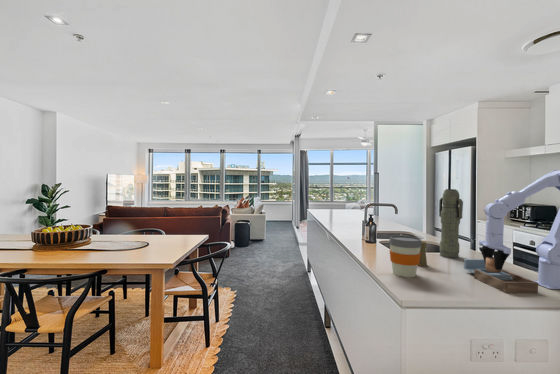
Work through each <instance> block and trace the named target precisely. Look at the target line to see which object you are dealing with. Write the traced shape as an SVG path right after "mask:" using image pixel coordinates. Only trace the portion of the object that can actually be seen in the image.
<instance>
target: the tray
mask: <svg viewBox="0 0 560 374" xmlns="http://www.w3.org/2000/svg"><path fill="white" fill-rule="evenodd" d="M485 267H486V265H485V262H484V258H481V259H479V258H476V259H475V258H472V259H471V258H468V259H467V258H464V259H463V270H466V271H468V272H470V273H472V274H474V269H477V270H479V271H481V272H484V273H486V274H488V275H491V276H493V277H495V278H498V279H500V280H513V278H511V277H510V275H509V274H507V273H504V272H502V271H501V273H493V272H489V271H486V270H485Z"/></svg>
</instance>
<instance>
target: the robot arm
mask: <svg viewBox="0 0 560 374" xmlns="http://www.w3.org/2000/svg"><path fill="white" fill-rule="evenodd" d="M546 188H555V189H558V190H559V192H560V169H554V170H552V171H550V172H549V173H545V174H544V175H542V176H541V177H539V178H538V179H537V180H535V181H533V182H531V183H530V184H529V185H526V186H525V187H524V188H522V189H521V190H519V191H515V190H513V191H508V192H506V193H505V195H504V196H502V197H500V198H499V199H498V198H496V199H494V202H491V203H487V205H486V206H485V207H484V209H483V212H484V214H485V215H486V218H485V219H486V221H485V240H479V241H478V246H479V247H478V250H479V252H480V253H481V255H482V259H484V262H485V265H486V257H494V260H495V269H496V270H502V269H503V268H504V265H505V262H506V260H507V259H508V258H509V256H510V255H511V254H512V248H510V247H508V246H506V245H504V229H505V227H504V225H505V222H504V221H505V220H504V218H505V217H507V214H508V213H509V212H511V211H513V210H515V209H516V208H518V207H519V206H522V205H523V204H525V202H526V199H527V198H529V197H531V196H533V195H535V194H536V193H538V192H541V191H542V190H544V189H546ZM480 246H481V247H480ZM535 253H536V255H537V256H539V258H538V271H537V272H538V275H537V280H534V281H535V282H537V283H538V286H542V287H544V288H547V289H549V290H560V207H559V208H558V211H557V213H556V216H555V218H554V220H553V223H552V225H551V228H550V231H549V232H548V235H547V236H545V237H543V238H542V240H541V242H540V243H539V244H538V245H537V246H536V249H535Z"/></svg>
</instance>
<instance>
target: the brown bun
mask: <svg viewBox="0 0 560 374" xmlns="http://www.w3.org/2000/svg"><path fill="white" fill-rule="evenodd" d="M485 270H486V271H489V272H493V273H501V270H496V269H495V260H494V256H493V257H486V267H485Z"/></svg>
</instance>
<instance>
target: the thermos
mask: <svg viewBox="0 0 560 374" xmlns="http://www.w3.org/2000/svg"><path fill="white" fill-rule="evenodd" d="M438 207H439V208H438V214H439V215H438V216H439V218H440V223H441V226H440V227H441V229H440V230H441V235H440V236H441V237H440V242H439V256H440V257H443V258H447V259H458V258H459V256H460V255H459V254H460V243H459V237H460V235H459V233H460V225H461V219H463V210H464V209H463V208H464V201H463V200H462V198H460V192H459V190H458V189H454V188H453V189H452V188H446V189H444V190H443V193H442V197H440V199H439V205H438Z"/></svg>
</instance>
